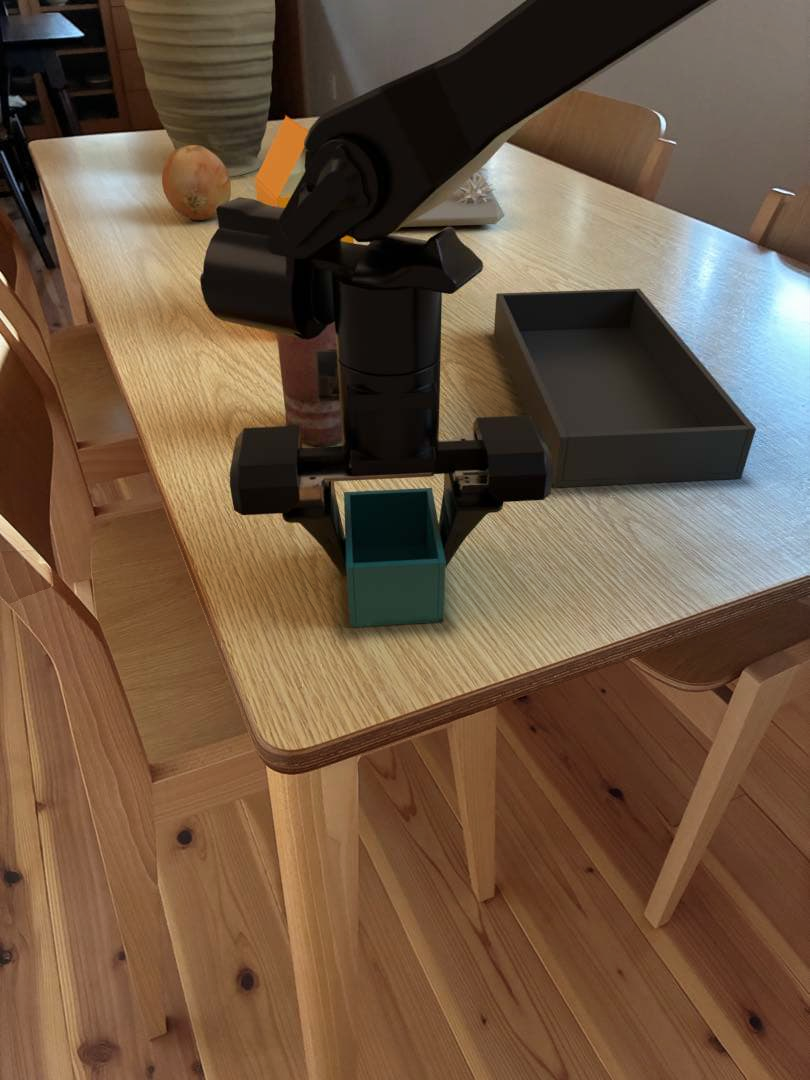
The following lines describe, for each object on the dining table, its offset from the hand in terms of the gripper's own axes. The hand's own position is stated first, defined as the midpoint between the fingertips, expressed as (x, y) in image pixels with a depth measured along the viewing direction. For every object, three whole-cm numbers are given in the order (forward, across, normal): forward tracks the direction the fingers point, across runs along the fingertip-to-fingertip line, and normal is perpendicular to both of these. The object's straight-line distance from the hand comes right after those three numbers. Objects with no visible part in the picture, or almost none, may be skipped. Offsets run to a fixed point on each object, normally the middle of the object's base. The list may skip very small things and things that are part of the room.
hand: (393, 570), depth 54 cm
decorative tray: (+1, -8, -92) cm, 92 cm away
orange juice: (+1, +6, -45) cm, 45 cm away
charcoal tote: (+1, -21, -25) cm, 33 cm away
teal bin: (+1, 0, 0) cm, 1 cm away
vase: (+1, +23, -116) cm, 118 cm away
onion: (+1, +23, -85) cm, 88 cm away
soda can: (+1, +5, -21) cm, 22 cm away
